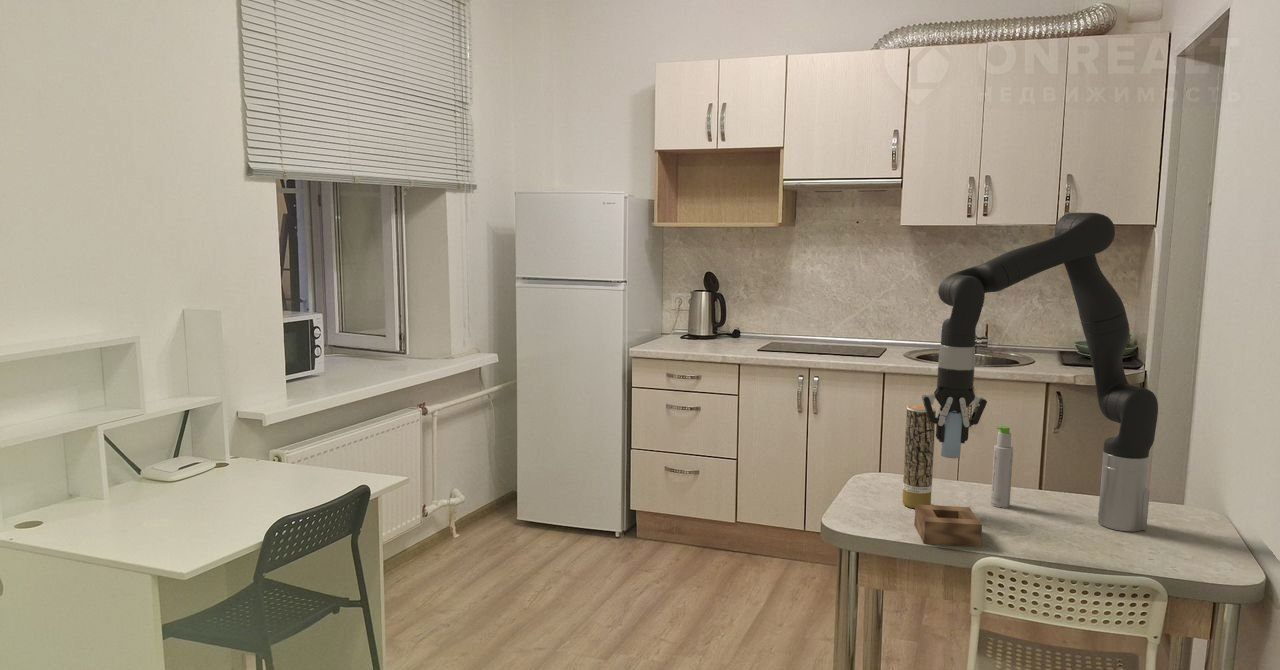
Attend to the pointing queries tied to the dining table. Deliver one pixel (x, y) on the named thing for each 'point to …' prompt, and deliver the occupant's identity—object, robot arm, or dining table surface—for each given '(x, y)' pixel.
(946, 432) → the peg
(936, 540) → the socket block
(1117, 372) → the robot arm
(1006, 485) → the bottle
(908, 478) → the brown bark cylinder
